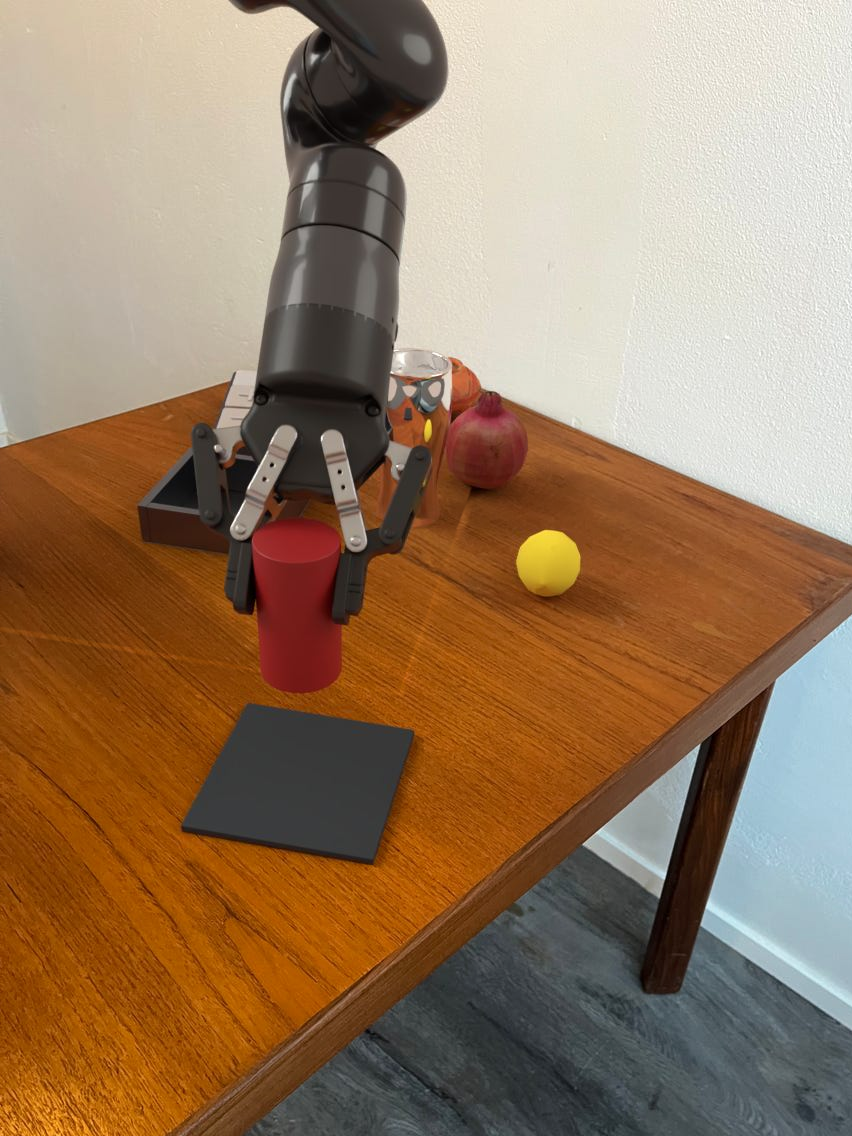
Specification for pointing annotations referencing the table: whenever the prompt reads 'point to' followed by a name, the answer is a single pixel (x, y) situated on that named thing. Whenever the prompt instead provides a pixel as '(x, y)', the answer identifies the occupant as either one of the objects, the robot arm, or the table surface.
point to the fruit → (486, 444)
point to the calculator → (237, 402)
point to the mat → (303, 783)
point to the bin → (196, 506)
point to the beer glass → (417, 421)
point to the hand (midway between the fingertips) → (292, 616)
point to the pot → (463, 386)
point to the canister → (297, 604)
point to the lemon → (548, 563)
